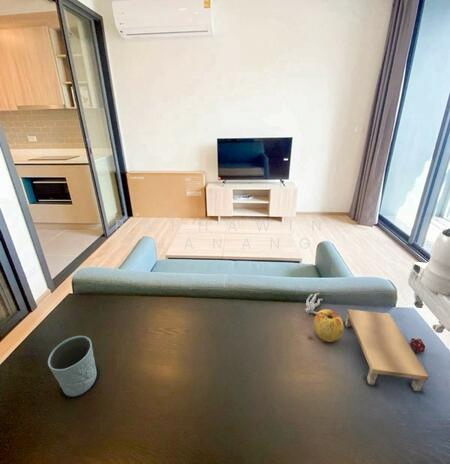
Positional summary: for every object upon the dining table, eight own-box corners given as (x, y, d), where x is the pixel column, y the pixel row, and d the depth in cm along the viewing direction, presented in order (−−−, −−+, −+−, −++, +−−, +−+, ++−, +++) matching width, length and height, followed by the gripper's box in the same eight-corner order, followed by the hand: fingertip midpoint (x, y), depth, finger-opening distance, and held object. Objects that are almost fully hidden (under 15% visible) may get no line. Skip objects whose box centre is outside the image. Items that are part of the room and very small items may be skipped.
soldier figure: (327, 306, 99) (322, 318, 88) (316, 310, 101) (310, 322, 90) (316, 288, 101) (310, 297, 91) (306, 293, 103) (299, 302, 93)
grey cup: (106, 370, 73) (99, 340, 69) (78, 406, 64) (68, 375, 60) (80, 360, 76) (71, 331, 72) (49, 393, 67) (38, 363, 63)
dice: (426, 356, 78) (430, 347, 76) (411, 353, 79) (414, 344, 77) (420, 345, 81) (424, 337, 80) (405, 343, 82) (408, 334, 81)
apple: (341, 331, 86) (346, 309, 83) (339, 352, 79) (344, 329, 75) (314, 322, 90) (318, 300, 87) (310, 341, 83) (314, 318, 79)
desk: (384, 327, 88) (389, 313, 86) (421, 392, 68) (428, 376, 65) (344, 322, 90) (347, 309, 88) (368, 384, 70) (373, 369, 67)
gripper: (485, 309, 60) (464, 350, 64) (431, 261, 78) (418, 295, 83) (456, 306, 60) (438, 346, 65) (409, 259, 79) (398, 293, 84)
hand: (426, 317), depth 74 cm, fingers open, 8 cm apart
